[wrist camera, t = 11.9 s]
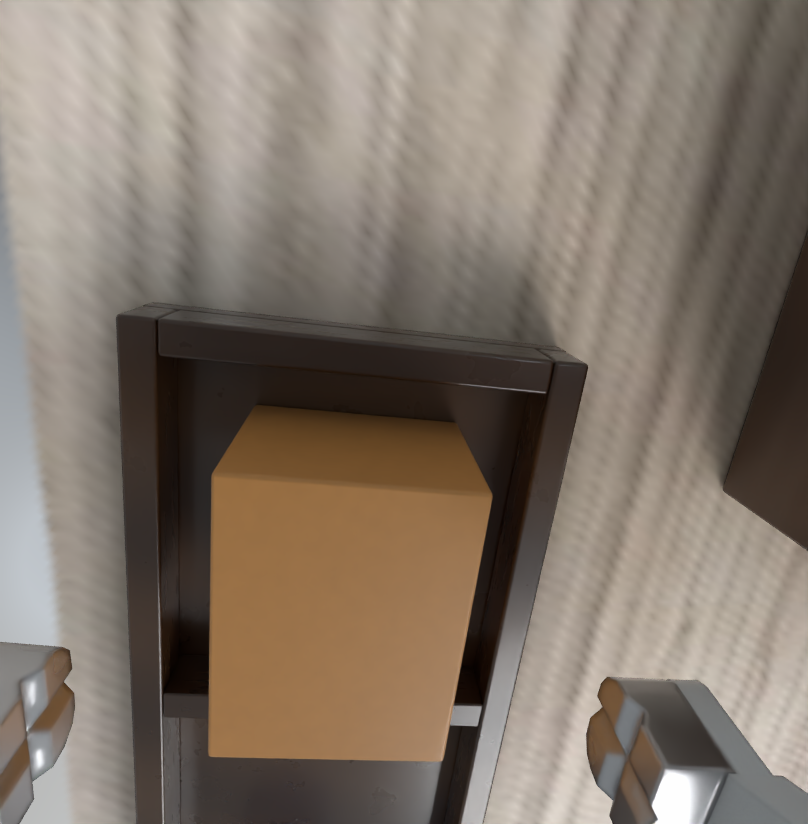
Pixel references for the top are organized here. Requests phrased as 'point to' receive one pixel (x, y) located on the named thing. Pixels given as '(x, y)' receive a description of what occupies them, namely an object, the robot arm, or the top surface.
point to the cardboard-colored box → (341, 585)
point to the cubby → (779, 424)
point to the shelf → (191, 543)
